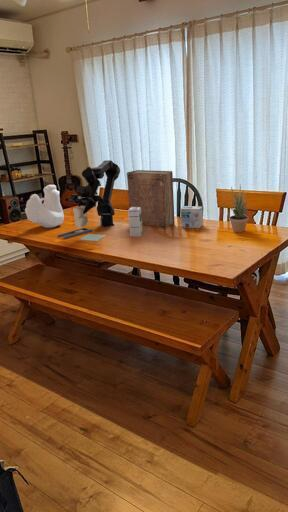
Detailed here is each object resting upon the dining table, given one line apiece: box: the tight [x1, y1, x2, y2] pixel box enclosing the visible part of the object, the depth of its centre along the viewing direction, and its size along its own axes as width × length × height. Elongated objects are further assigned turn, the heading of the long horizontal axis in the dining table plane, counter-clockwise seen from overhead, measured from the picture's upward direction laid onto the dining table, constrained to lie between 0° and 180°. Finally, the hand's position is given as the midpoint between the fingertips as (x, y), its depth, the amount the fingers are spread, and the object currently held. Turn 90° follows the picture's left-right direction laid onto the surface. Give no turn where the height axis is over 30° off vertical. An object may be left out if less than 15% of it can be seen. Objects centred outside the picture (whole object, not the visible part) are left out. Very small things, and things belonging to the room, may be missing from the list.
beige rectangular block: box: [72, 205, 89, 229], centre depth 213 cm, size 7×3×10 cm, turn 149°
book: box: [126, 169, 176, 229], centre depth 232 cm, size 25×9×30 cm, turn 51°
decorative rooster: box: [24, 184, 65, 229], centre depth 242 cm, size 25×16×25 cm, turn 129°
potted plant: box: [228, 184, 250, 233], centre depth 207 cm, size 10×10×25 cm
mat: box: [78, 233, 107, 242], centre depth 216 cm, size 11×11×1 cm
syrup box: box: [127, 207, 144, 237], centre depth 214 cm, size 6×6×14 cm
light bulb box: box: [180, 205, 204, 229], centre depth 224 cm, size 11×7×11 cm, turn 68°
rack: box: [57, 227, 93, 240], centre depth 225 cm, size 18×7×2 cm, turn 133°
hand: (81, 213), depth 213 cm, fingers closed on beige rectangular block, 3 cm apart
